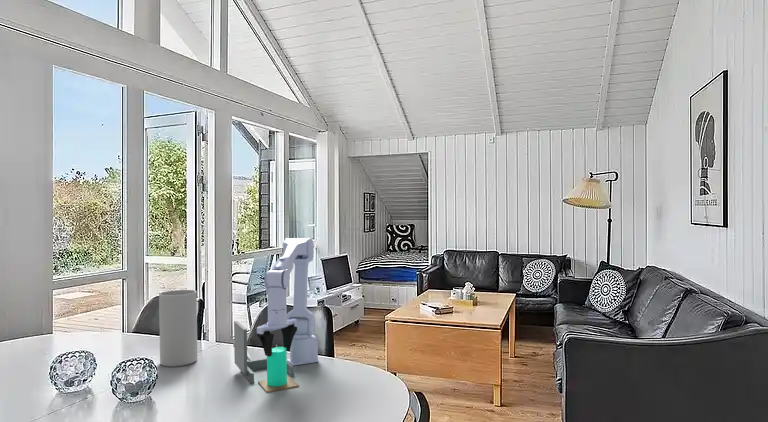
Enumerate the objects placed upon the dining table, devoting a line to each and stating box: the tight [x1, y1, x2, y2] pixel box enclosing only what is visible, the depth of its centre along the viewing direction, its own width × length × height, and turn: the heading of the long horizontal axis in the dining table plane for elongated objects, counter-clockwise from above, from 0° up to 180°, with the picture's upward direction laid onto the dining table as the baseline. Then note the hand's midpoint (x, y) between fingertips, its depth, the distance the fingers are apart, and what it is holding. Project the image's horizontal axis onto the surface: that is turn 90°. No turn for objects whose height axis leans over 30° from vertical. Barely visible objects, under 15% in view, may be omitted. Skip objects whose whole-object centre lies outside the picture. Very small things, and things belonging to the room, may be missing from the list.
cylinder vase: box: [158, 289, 198, 368], centre depth 186 cm, size 12×12×25 cm
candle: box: [266, 344, 288, 386], centre depth 160 cm, size 6×6×12 cm
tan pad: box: [257, 375, 300, 394], centre depth 160 cm, size 10×10×1 cm
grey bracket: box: [232, 320, 295, 384], centre depth 171 cm, size 16×15×17 cm
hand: (277, 352), depth 160 cm, fingers open, 7 cm apart
